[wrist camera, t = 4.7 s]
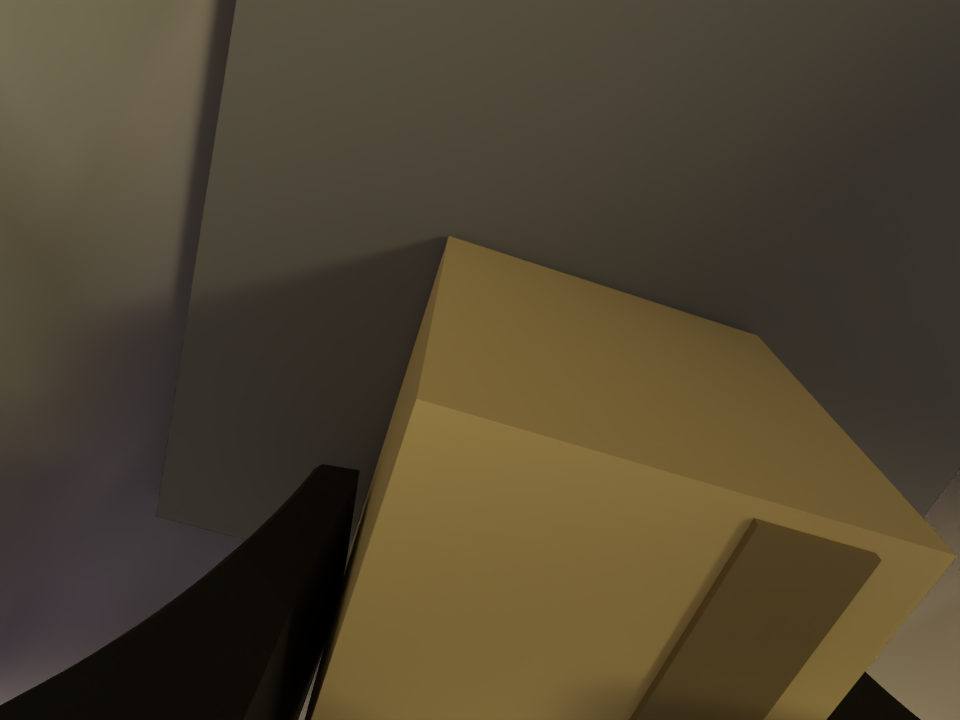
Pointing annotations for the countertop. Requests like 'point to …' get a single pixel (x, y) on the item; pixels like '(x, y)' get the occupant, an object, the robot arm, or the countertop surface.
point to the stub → (611, 521)
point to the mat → (568, 211)
